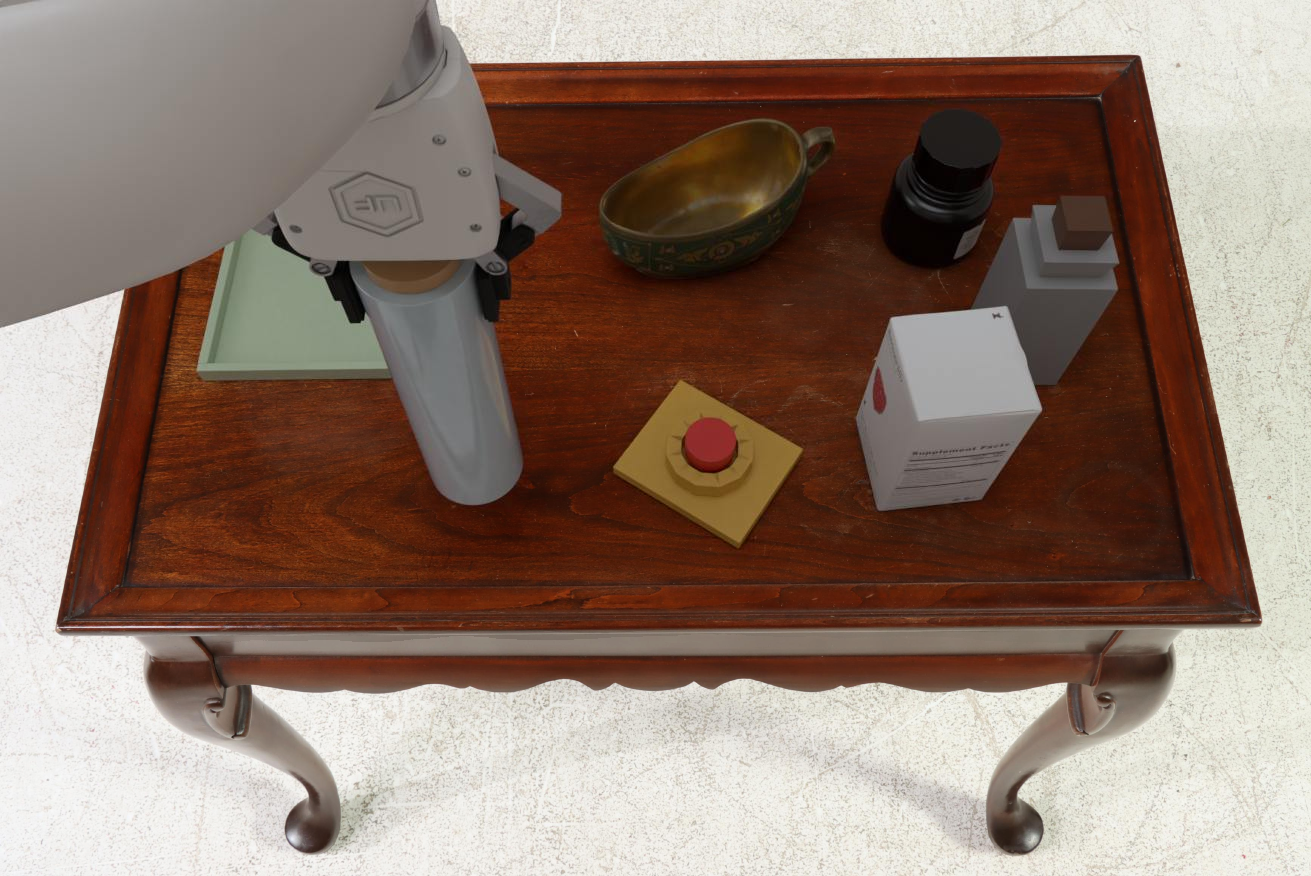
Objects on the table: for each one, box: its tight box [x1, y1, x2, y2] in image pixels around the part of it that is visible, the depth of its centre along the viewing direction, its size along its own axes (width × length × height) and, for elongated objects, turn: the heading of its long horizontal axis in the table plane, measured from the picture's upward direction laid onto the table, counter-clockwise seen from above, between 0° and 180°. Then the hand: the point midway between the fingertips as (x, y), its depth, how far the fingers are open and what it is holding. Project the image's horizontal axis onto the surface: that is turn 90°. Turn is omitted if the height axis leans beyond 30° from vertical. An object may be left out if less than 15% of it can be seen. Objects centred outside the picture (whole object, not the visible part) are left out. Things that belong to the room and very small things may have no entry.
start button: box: [685, 417, 736, 472], centre depth 81 cm, size 4×4×2 cm
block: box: [612, 379, 804, 549], centre depth 83 cm, size 10×12×3 cm
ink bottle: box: [880, 108, 1003, 267], centre depth 91 cm, size 10×9×12 cm
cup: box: [598, 117, 836, 280], centre depth 91 cm, size 13×20×10 cm, turn 86°
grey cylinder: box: [349, 258, 524, 506], centre depth 63 cm, size 7×7×24 cm
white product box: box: [855, 306, 1043, 512], centre depth 78 cm, size 9×9×15 cm
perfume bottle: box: [970, 195, 1120, 386], centre depth 82 cm, size 7×7×18 cm
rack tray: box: [196, 229, 392, 382], centre depth 94 cm, size 28×18×2 cm, turn 1°
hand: (427, 300), depth 57 cm, fingers closed on grey cylinder, 6 cm apart
